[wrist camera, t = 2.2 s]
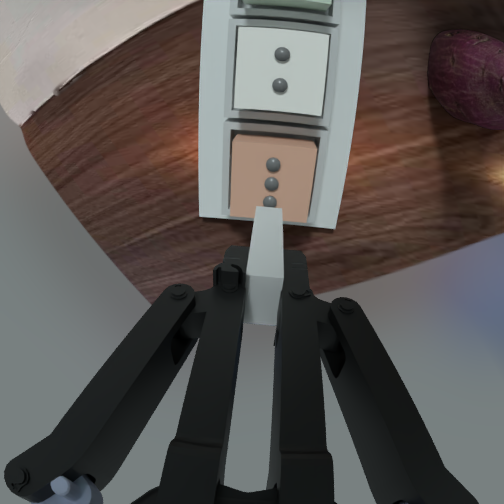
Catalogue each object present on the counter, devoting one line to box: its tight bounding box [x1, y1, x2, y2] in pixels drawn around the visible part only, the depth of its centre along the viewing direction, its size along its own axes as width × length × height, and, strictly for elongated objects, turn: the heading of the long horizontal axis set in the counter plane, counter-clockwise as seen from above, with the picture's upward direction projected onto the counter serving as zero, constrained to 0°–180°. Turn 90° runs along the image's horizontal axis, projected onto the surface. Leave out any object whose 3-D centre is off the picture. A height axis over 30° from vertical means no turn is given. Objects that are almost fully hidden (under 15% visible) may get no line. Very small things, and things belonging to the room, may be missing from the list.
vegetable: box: [427, 29, 504, 130], centre depth 16 cm, size 10×10×15 cm
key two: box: [234, 27, 329, 116], centre depth 20 cm, size 6×6×3 cm
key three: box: [230, 134, 317, 223], centre depth 25 cm, size 6×6×3 cm
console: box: [199, 0, 366, 229], centre depth 22 cm, size 30×14×4 cm, turn 177°
